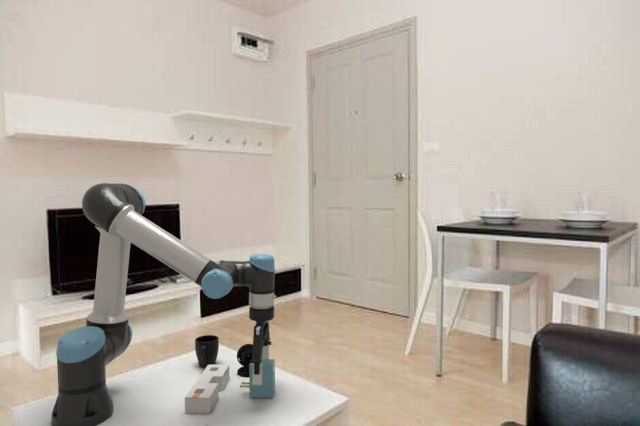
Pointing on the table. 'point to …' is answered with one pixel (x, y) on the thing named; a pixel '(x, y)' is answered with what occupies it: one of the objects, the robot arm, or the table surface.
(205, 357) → the mug
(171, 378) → the table surface
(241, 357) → the webcam
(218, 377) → the power strip
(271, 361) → the charger
